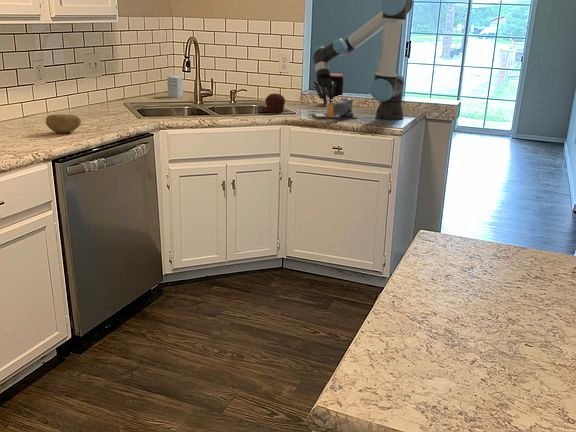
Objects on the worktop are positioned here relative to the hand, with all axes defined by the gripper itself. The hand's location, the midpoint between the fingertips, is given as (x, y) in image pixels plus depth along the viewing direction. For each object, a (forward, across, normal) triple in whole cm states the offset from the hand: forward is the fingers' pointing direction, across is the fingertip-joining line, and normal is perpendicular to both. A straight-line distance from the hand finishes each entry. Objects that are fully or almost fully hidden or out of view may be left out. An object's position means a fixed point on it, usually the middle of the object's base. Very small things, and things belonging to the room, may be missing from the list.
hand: (328, 108), depth 300 cm
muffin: (-15, +23, -25) cm, 37 cm away
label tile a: (-3, -5, -12) cm, 13 cm away
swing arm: (0, -7, -5) cm, 9 cm away
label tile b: (-3, +2, -12) cm, 12 cm away
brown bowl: (+28, +125, +19) cm, 130 cm away
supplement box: (-57, +77, -68) cm, 118 cm away
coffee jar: (-40, -20, -50) cm, 67 cm away
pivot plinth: (-3, -13, -12) cm, 18 cm away
